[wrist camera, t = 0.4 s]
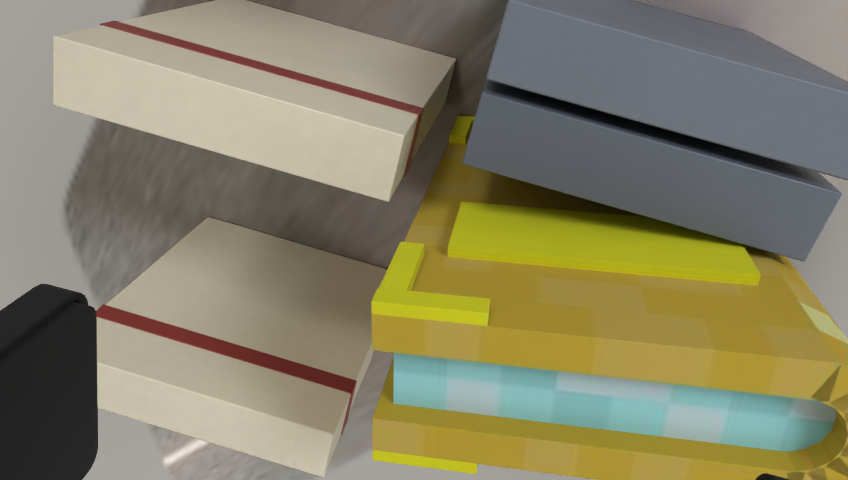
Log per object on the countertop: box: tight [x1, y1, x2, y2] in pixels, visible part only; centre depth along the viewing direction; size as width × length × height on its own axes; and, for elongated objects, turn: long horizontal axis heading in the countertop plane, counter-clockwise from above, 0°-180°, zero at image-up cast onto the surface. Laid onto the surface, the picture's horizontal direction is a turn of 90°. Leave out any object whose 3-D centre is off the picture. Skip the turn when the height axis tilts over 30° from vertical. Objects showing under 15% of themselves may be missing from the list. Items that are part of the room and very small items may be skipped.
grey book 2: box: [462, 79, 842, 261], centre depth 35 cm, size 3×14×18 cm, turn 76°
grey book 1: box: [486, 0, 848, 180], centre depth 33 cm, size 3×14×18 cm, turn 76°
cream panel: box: [96, 217, 387, 477], centre depth 44 cm, size 3×15×18 cm, turn 76°
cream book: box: [53, 0, 456, 202], centre depth 37 cm, size 3×15×18 cm, turn 76°
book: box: [371, 116, 848, 480], centre depth 34 cm, size 17×7×25 cm, turn 88°
